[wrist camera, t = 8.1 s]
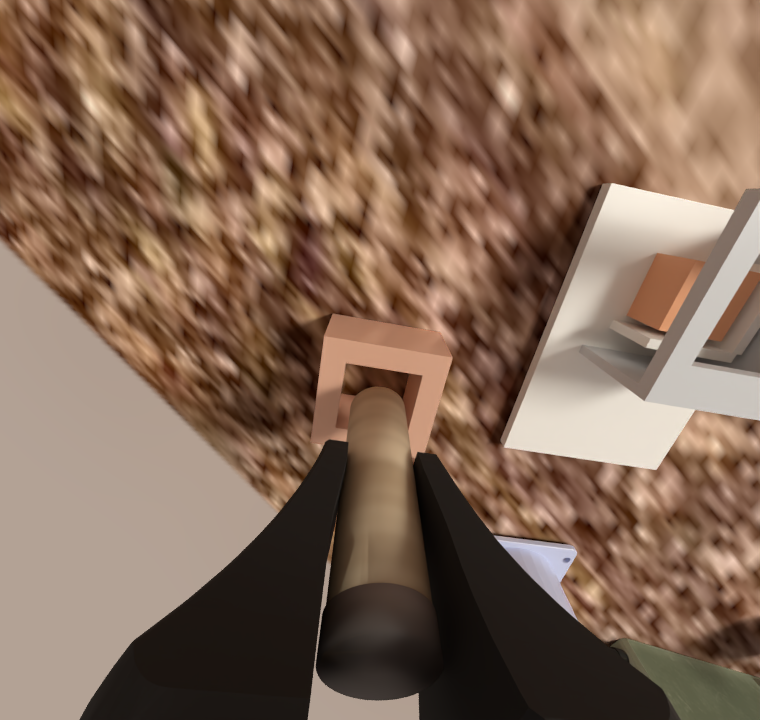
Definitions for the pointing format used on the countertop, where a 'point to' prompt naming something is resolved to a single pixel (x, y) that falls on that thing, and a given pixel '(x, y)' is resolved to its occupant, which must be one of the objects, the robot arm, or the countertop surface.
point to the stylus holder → (384, 351)
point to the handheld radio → (695, 683)
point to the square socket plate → (643, 334)
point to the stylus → (379, 565)
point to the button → (681, 294)
